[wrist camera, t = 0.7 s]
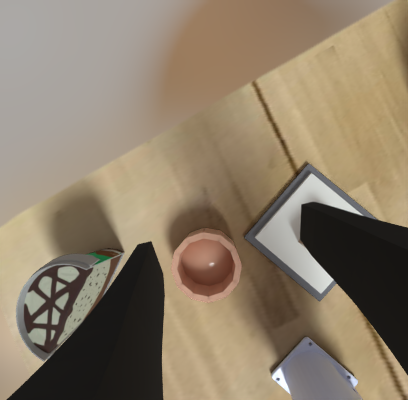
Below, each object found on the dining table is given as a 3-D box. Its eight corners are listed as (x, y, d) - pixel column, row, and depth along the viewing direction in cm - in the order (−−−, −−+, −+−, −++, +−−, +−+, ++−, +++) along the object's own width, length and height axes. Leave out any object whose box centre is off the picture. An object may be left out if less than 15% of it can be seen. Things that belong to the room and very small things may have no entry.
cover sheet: (376, 228, 29) (400, 233, 25) (318, 291, 30) (333, 305, 26) (309, 173, 30) (323, 170, 26) (254, 237, 30) (259, 242, 26)
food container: (93, 225, 32) (38, 239, 22) (128, 243, 32) (88, 264, 22) (61, 296, 33) (-7, 339, 23) (95, 314, 33) (41, 366, 23)
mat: (384, 227, 30) (387, 227, 29) (317, 299, 30) (319, 301, 30) (307, 164, 30) (308, 163, 30) (244, 237, 31) (244, 237, 30)
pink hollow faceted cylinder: (250, 255, 31) (255, 264, 27) (210, 300, 31) (210, 315, 27) (204, 216, 31) (202, 219, 27) (165, 261, 32) (158, 270, 28)
